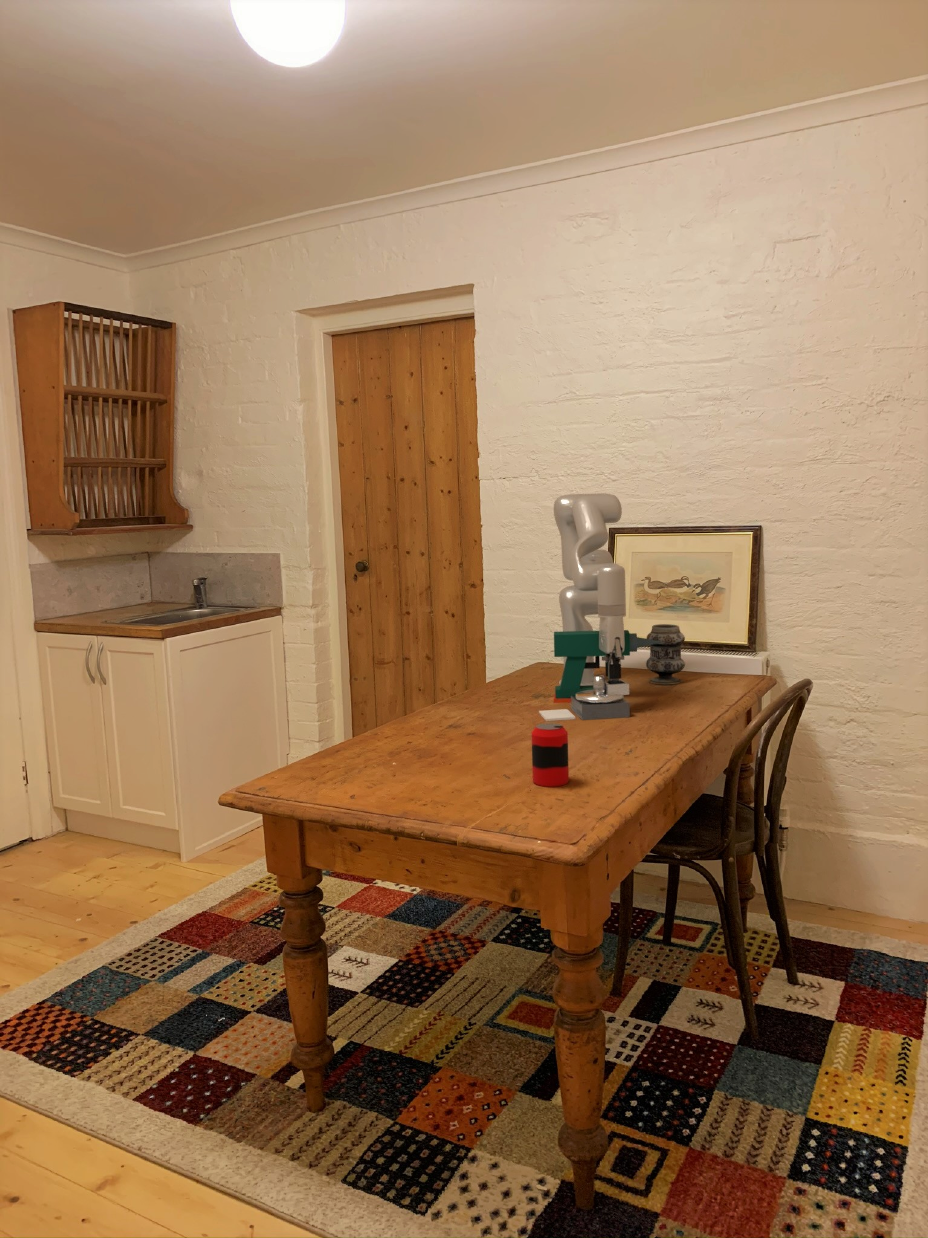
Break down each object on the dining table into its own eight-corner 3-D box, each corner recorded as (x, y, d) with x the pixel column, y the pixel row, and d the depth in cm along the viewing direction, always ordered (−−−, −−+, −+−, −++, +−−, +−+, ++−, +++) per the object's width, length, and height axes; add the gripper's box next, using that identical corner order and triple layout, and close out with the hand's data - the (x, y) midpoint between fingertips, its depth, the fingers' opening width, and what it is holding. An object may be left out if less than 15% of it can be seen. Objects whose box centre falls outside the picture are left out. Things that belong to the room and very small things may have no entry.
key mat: (539, 713, 265) (538, 710, 265) (567, 711, 266) (567, 709, 266) (546, 721, 255) (546, 718, 255) (575, 719, 256) (575, 717, 256)
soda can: (563, 788, 196) (562, 731, 195) (528, 785, 199) (526, 729, 197) (572, 778, 203) (571, 722, 202) (538, 775, 206) (536, 721, 204)
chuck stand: (571, 709, 268) (570, 695, 267) (616, 707, 269) (616, 693, 269) (582, 720, 255) (581, 705, 254) (629, 717, 256) (629, 702, 256)
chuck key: (602, 692, 264) (601, 656, 263) (623, 690, 264) (622, 655, 263) (604, 693, 261) (603, 657, 260) (626, 692, 261) (625, 656, 260)
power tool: (662, 696, 281) (661, 629, 279) (664, 701, 275) (664, 632, 272) (553, 697, 285) (552, 631, 282) (553, 702, 278) (551, 634, 275)
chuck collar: (570, 694, 267) (570, 673, 266) (619, 691, 269) (618, 670, 268) (582, 704, 254) (582, 681, 254) (633, 700, 256) (632, 678, 255)
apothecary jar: (688, 685, 296) (688, 627, 294) (649, 686, 296) (649, 629, 294) (680, 677, 308) (680, 622, 306) (643, 679, 308) (642, 623, 306)
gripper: (591, 608, 268) (592, 673, 270) (606, 614, 252) (607, 683, 254) (617, 607, 269) (618, 671, 271) (634, 613, 253) (635, 681, 255)
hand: (613, 676), depth 262 cm, fingers closed on chuck key, 3 cm apart
